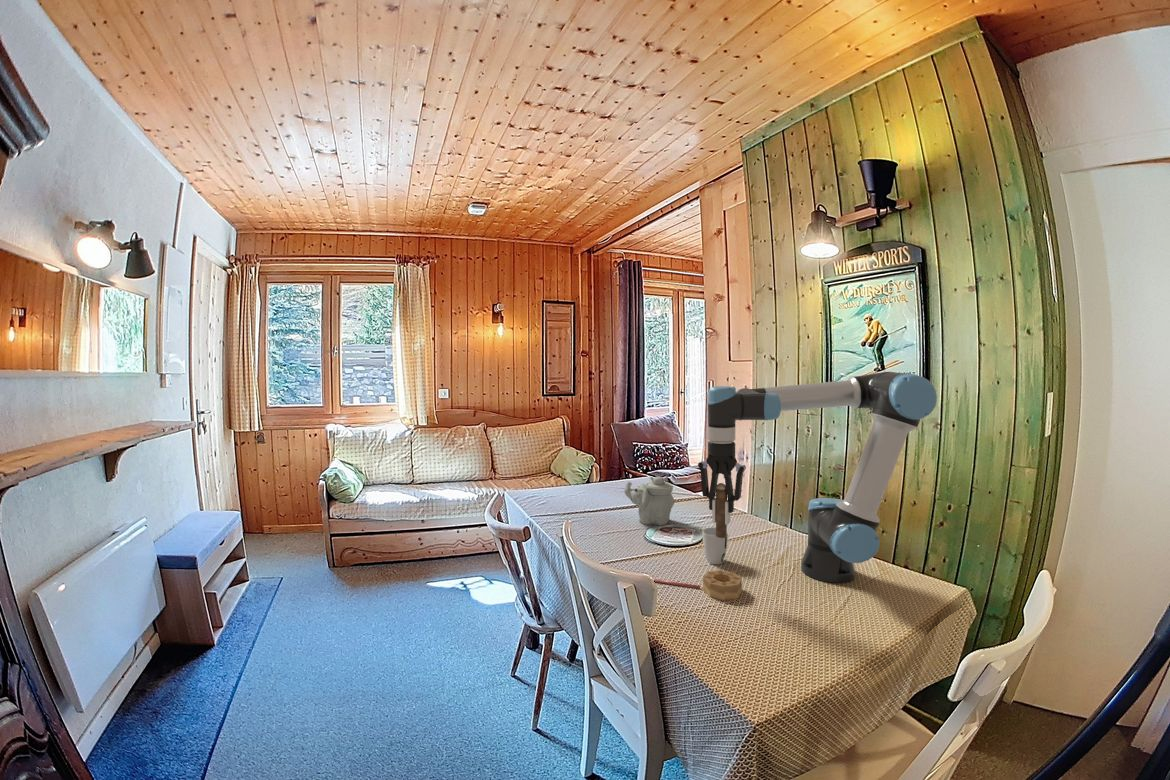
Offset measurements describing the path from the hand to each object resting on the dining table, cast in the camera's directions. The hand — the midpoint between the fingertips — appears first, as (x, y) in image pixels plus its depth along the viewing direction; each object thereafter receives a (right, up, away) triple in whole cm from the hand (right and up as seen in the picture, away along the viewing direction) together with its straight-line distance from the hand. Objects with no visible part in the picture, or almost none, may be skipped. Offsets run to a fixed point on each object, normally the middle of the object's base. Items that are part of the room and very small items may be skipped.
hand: (721, 522), depth 152 cm
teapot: (-13, -15, +62) cm, 66 cm away
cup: (+4, -19, +22) cm, 29 cm away
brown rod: (0, -4, 0) cm, 4 cm away
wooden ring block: (+1, -20, +1) cm, 20 cm away
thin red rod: (-12, -20, +6) cm, 24 cm away
